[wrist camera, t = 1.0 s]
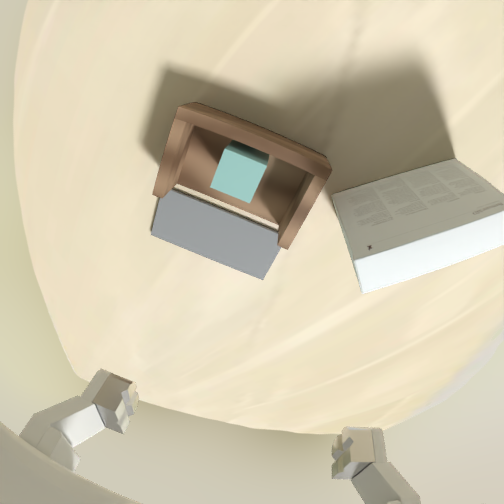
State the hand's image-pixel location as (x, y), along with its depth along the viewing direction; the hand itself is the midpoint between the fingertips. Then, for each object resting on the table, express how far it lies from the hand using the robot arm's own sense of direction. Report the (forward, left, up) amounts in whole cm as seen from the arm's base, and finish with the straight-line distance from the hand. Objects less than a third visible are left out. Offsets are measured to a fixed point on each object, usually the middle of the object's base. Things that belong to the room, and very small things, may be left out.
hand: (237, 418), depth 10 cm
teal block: (+2, -4, -34) cm, 34 cm away
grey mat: (+15, -4, -35) cm, 38 cm away
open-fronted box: (+3, -4, -35) cm, 35 cm away
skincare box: (-4, +18, -35) cm, 40 cm away
